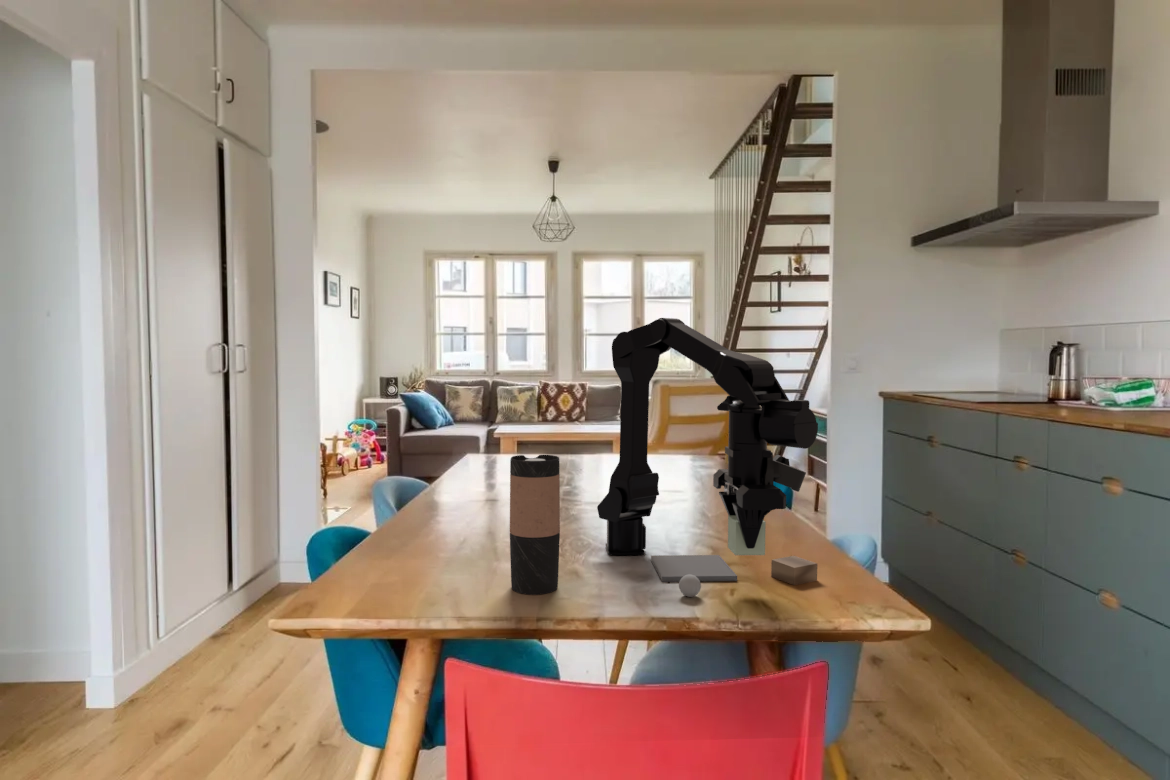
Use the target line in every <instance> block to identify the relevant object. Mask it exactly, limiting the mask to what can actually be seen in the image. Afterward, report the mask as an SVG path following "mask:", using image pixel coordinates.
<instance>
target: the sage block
mask: <svg viewBox="0 0 1170 780" xmlns="http://www.w3.org/2000/svg"><path fill="white" fill-rule="evenodd" d="M766 525H767V524H766V521H765V520H763V522H762V525H761V528H760V532H759V535H758V538H757V541H756V544H755V547H754V548H753V549H748V548H747V547H746V544H745V542H744V539H743V536H742V532H741V529H740V526H739V523H738V520H737V517H736V515H728V514H727V549H729V551H730V552H732V554H733V555H735V556H765V555H766Z"/></svg>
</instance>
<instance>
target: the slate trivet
mask: <svg viewBox="0 0 1170 780" xmlns="http://www.w3.org/2000/svg"><path fill="white" fill-rule="evenodd" d="M650 561H651V563H652V565H653V567H654V568H655V571H656V573H657V574H658V577H659V578H660V580H661V582H662V583H663V582H666V583H667V582H668V583H669V582H671V583H672V582H678V583H679V582H680V580H681V578H682V577H683V576H685V575H694V576H696V577H697V578H698V579H699V581H700V582H738V575H737V573H735V571H734V570H733V569H732V568H731V567H730V566H729V564H727V562H726V561H725V560H724V559H723V558H722V556H720V554H693V555H692V554H691V555H689V554H686V555H685V554H683V555H682V554H681V555H676V554H675V555H673V554H672V555H670V554H669V555H667V554H665V555H659V554H658V555H650Z"/></svg>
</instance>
